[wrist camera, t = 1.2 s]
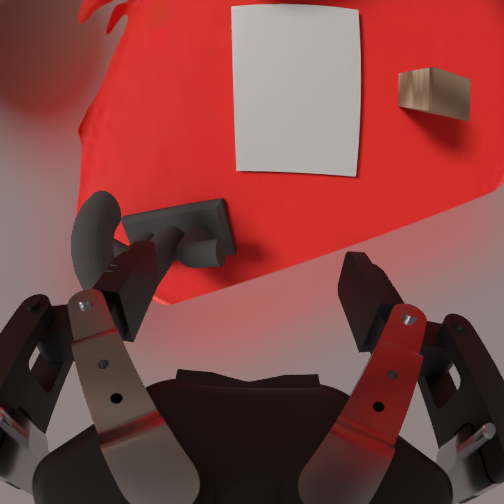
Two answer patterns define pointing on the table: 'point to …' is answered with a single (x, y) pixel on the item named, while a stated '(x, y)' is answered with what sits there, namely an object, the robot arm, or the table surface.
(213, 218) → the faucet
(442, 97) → the wooden block
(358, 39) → the grey board
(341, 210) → the table surface
